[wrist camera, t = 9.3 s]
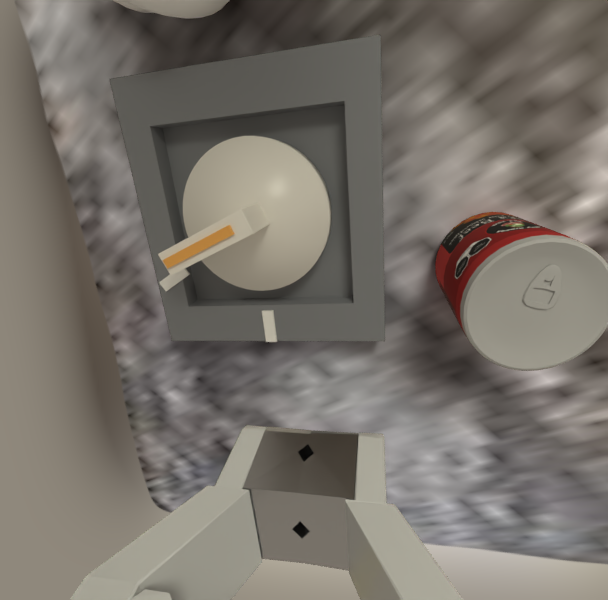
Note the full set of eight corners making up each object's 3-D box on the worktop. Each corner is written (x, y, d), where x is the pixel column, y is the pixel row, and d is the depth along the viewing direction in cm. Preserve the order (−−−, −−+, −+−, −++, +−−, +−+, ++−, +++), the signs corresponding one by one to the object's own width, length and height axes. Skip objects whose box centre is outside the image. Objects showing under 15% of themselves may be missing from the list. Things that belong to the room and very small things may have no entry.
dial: (290, 106, 27) (267, 91, 21) (356, 250, 30) (351, 270, 24) (163, 184, 31) (116, 189, 25) (233, 304, 34) (204, 333, 28)
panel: (133, 86, 30) (107, 78, 27) (379, 48, 26) (380, 33, 23) (186, 327, 37) (170, 341, 35) (384, 326, 33) (384, 342, 31)
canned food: (538, 205, 28) (632, 230, 18) (528, 302, 30) (605, 372, 20) (433, 215, 29) (464, 243, 19) (433, 306, 32) (460, 373, 22)
